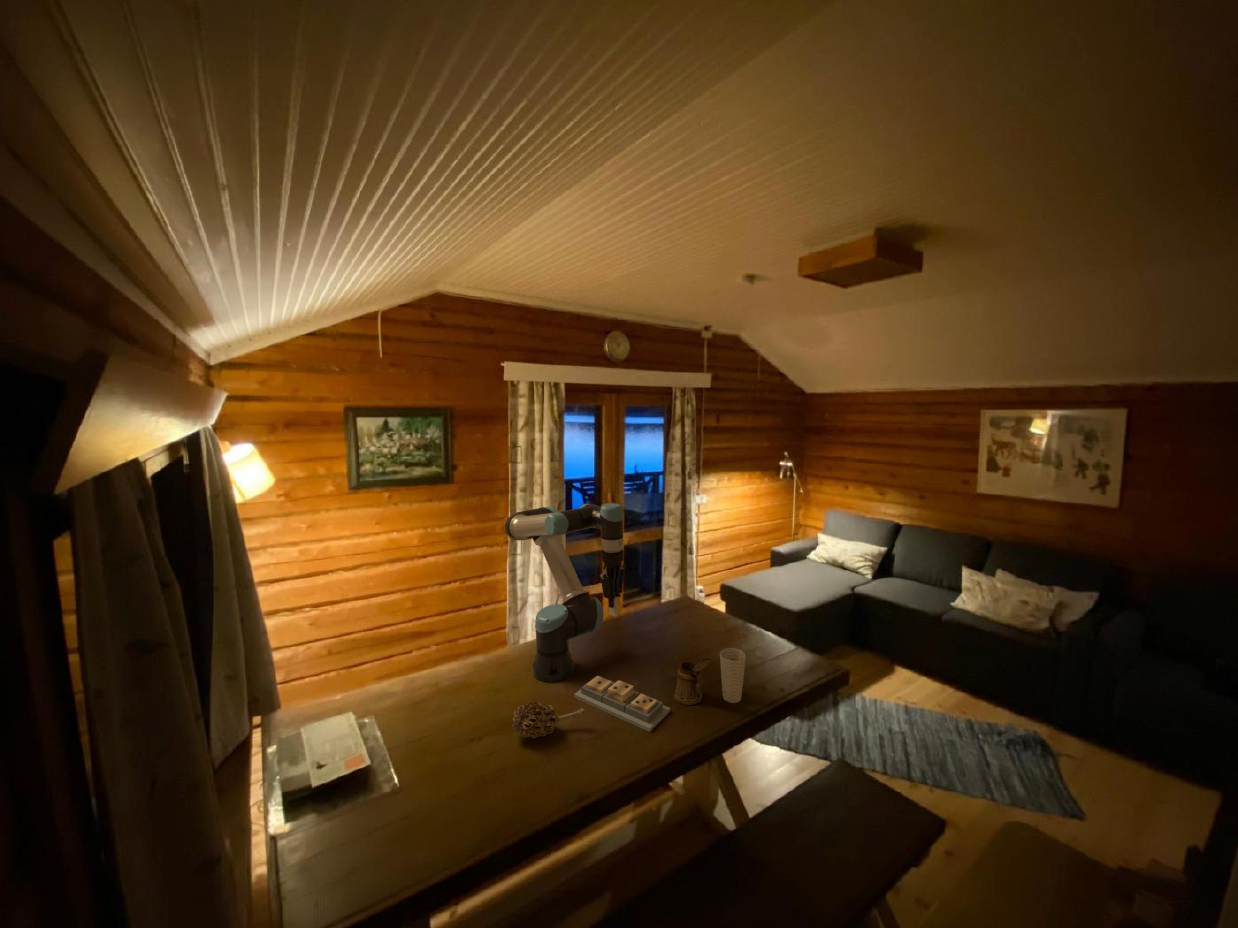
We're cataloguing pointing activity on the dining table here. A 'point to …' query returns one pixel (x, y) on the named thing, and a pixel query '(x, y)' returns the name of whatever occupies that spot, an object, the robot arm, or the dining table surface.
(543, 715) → the pine cone
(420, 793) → the dining table surface
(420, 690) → the dining table surface
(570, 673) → the robot arm
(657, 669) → the dining table surface
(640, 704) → the tile
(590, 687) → the tan square block
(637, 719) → the button board
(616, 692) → the tile
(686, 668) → the wooden mug
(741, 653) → the cup
